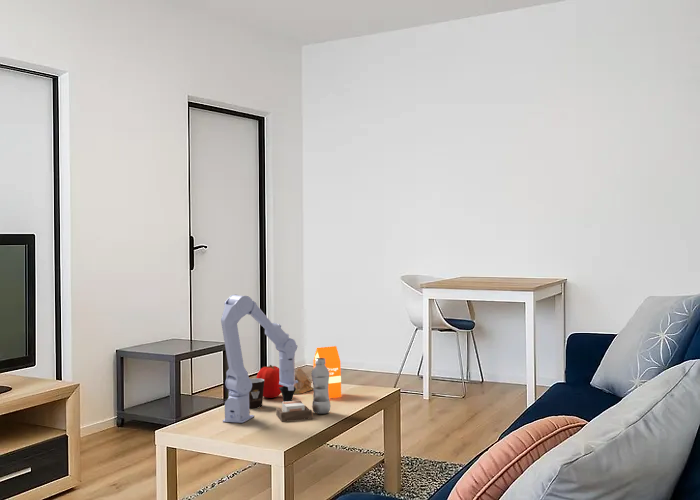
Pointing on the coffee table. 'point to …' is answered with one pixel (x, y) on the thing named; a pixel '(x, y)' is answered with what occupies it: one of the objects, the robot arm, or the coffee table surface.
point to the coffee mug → (256, 393)
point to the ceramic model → (302, 382)
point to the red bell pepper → (270, 381)
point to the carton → (292, 406)
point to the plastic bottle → (320, 387)
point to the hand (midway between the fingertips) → (287, 406)
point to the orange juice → (331, 369)
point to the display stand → (294, 415)
